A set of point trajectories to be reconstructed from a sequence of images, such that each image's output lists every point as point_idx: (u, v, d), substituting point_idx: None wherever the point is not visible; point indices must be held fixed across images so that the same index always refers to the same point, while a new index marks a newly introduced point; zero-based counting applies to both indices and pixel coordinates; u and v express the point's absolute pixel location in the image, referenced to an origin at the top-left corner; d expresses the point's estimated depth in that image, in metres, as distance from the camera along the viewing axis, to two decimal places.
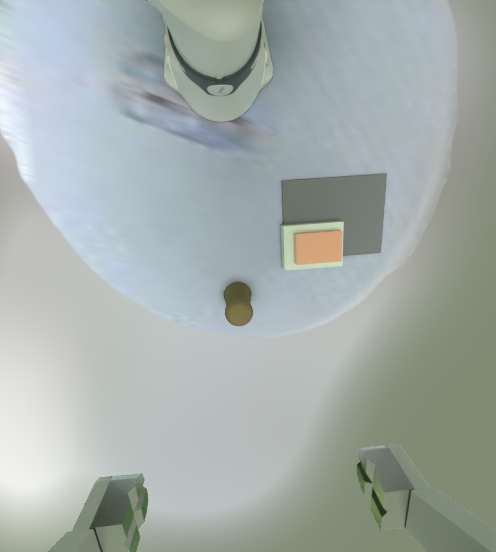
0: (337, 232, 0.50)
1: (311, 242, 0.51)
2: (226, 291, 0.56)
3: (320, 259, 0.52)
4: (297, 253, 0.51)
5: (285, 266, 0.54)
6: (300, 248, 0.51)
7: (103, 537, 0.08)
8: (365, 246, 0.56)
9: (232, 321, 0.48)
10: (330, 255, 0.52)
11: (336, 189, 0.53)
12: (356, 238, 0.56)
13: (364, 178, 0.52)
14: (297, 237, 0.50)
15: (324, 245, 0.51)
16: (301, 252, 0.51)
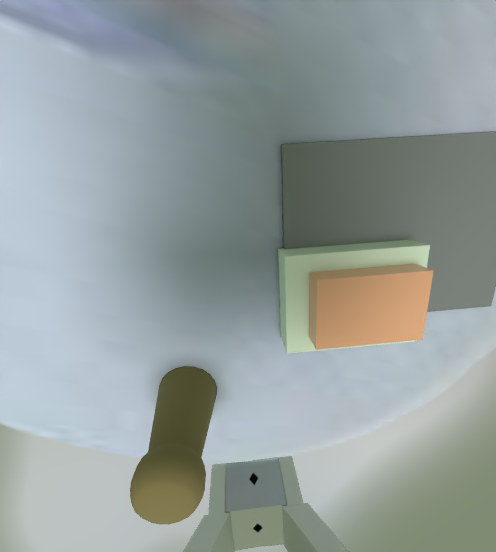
0: (420, 274, 0.20)
1: (353, 299, 0.20)
2: (160, 391, 0.26)
3: (373, 337, 0.21)
4: (318, 324, 0.21)
5: (288, 344, 0.24)
6: (327, 313, 0.21)
7: (236, 521, 0.08)
8: (460, 294, 0.26)
9: (145, 519, 0.18)
10: (397, 327, 0.21)
11: (411, 166, 0.22)
12: (445, 277, 0.25)
13: (479, 140, 0.22)
14: (320, 287, 0.20)
15: (384, 305, 0.21)
16: (328, 321, 0.21)
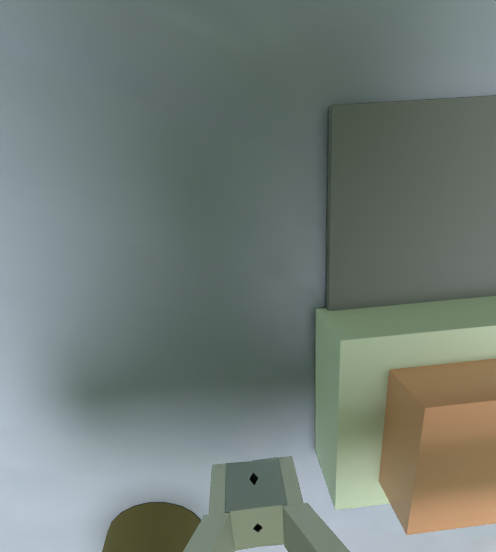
0: None
1: None
2: None
3: None
4: (418, 491, 0.10)
5: (339, 495, 0.12)
6: (439, 469, 0.09)
7: (236, 520, 0.08)
8: None
9: None
10: None
11: None
12: None
13: None
14: (430, 421, 0.09)
15: None
16: (439, 485, 0.10)
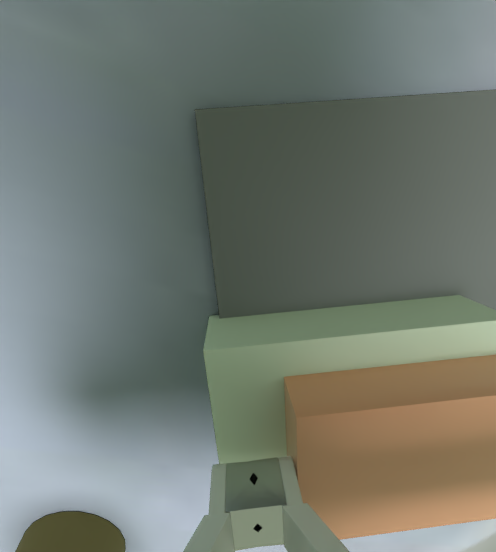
0: None
1: (380, 451, 0.09)
2: None
3: (421, 516, 0.10)
4: (303, 501, 0.09)
5: None
6: (322, 479, 0.09)
7: (236, 521, 0.08)
8: None
9: None
10: (474, 497, 0.10)
11: (468, 155, 0.11)
12: None
13: None
14: (304, 431, 0.08)
15: (449, 459, 0.09)
16: (324, 495, 0.09)
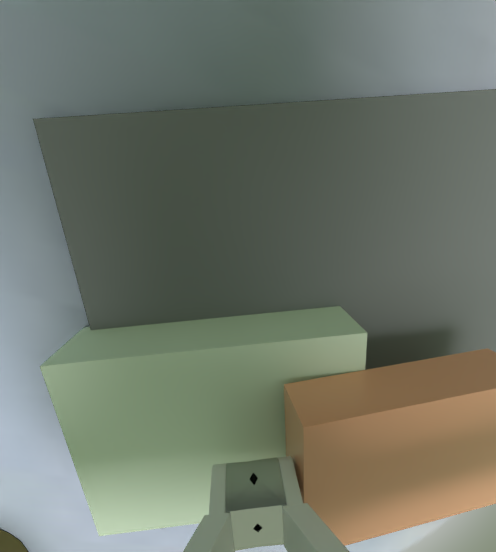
0: None
1: (383, 453, 0.09)
2: None
3: (420, 513, 0.10)
4: None
5: (99, 521, 0.12)
6: (328, 488, 0.09)
7: (236, 520, 0.08)
8: None
9: None
10: (467, 489, 0.10)
11: (329, 165, 0.11)
12: None
13: (469, 108, 0.10)
14: (311, 441, 0.08)
15: (446, 455, 0.10)
16: (329, 503, 0.09)
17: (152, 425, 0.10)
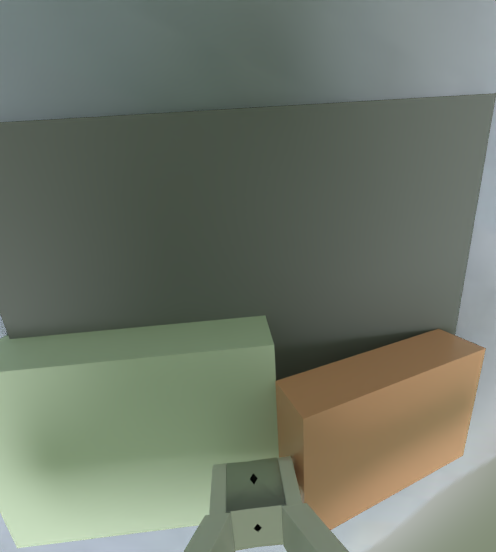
0: (469, 359, 0.11)
1: (370, 432, 0.10)
2: None
3: (399, 481, 0.11)
4: (309, 499, 0.10)
5: (16, 533, 0.12)
6: (325, 473, 0.09)
7: (237, 520, 0.08)
8: None
9: None
10: (433, 452, 0.12)
11: (242, 174, 0.10)
12: None
13: (382, 118, 0.10)
14: (309, 430, 0.09)
15: (417, 425, 0.11)
16: (326, 487, 0.10)
17: (60, 437, 0.10)
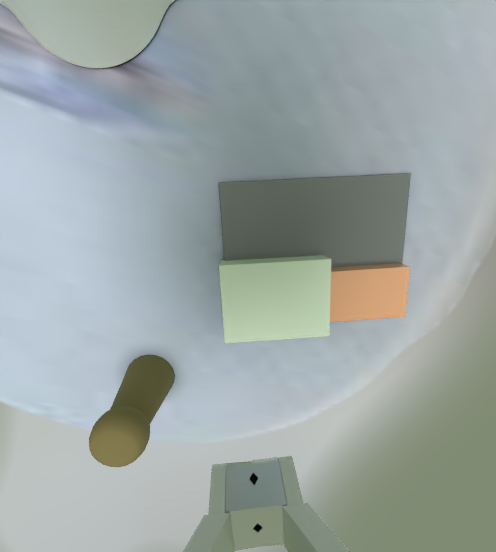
0: (401, 269, 0.29)
1: (355, 285, 0.30)
2: None
3: (369, 313, 0.31)
4: (331, 303, 0.30)
5: (226, 336, 0.30)
6: (337, 295, 0.30)
7: (236, 520, 0.08)
8: None
9: (99, 460, 0.24)
10: (386, 307, 0.30)
11: (319, 199, 0.29)
12: None
13: (370, 181, 0.29)
14: (332, 276, 0.29)
15: (377, 290, 0.30)
16: (337, 301, 0.30)
17: (252, 292, 0.29)
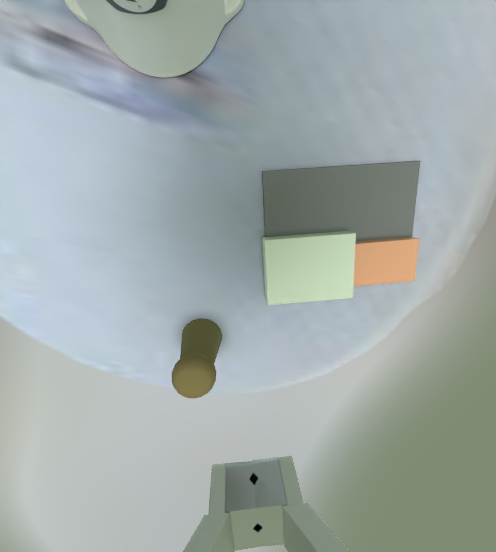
0: (411, 241, 0.36)
1: (374, 255, 0.36)
2: (183, 333, 0.38)
3: (385, 278, 0.37)
4: (354, 270, 0.36)
5: (268, 299, 0.36)
6: (359, 263, 0.36)
7: (236, 521, 0.08)
8: None
9: (181, 392, 0.30)
10: (399, 273, 0.37)
11: (344, 184, 0.35)
12: None
13: (386, 168, 0.35)
14: (355, 248, 0.36)
15: (391, 259, 0.36)
16: (360, 269, 0.36)
17: (291, 262, 0.35)
